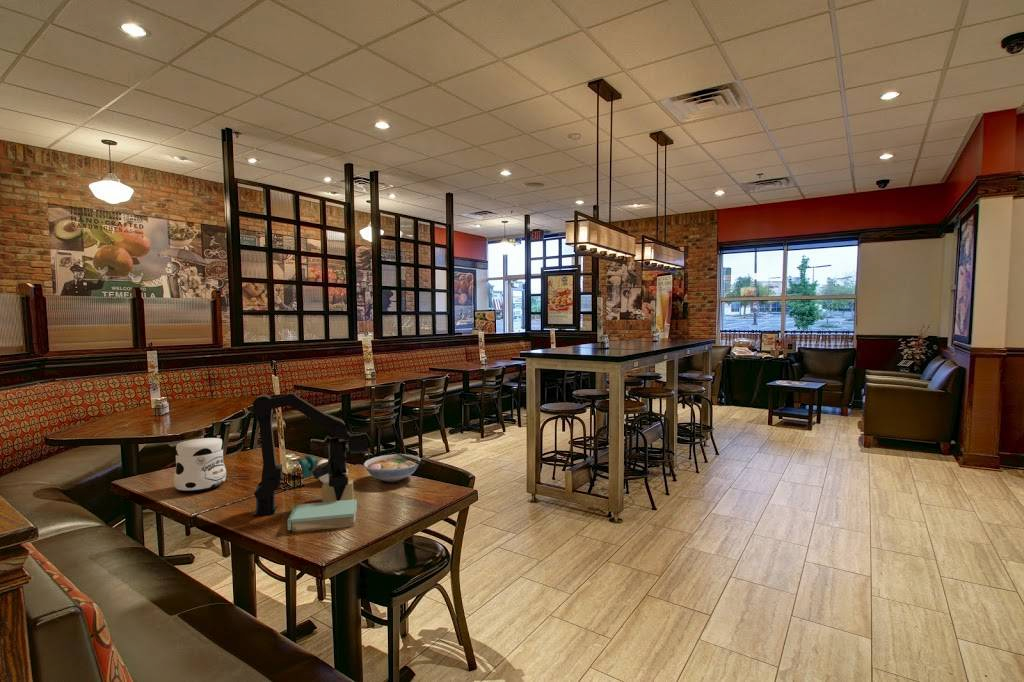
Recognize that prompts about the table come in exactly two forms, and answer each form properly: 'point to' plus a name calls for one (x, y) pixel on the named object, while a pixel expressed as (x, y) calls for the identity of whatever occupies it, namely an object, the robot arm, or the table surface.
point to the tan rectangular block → (330, 493)
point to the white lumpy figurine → (326, 477)
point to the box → (324, 523)
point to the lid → (322, 511)
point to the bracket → (307, 465)
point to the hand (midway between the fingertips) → (338, 498)
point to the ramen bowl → (392, 466)
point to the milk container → (199, 465)
